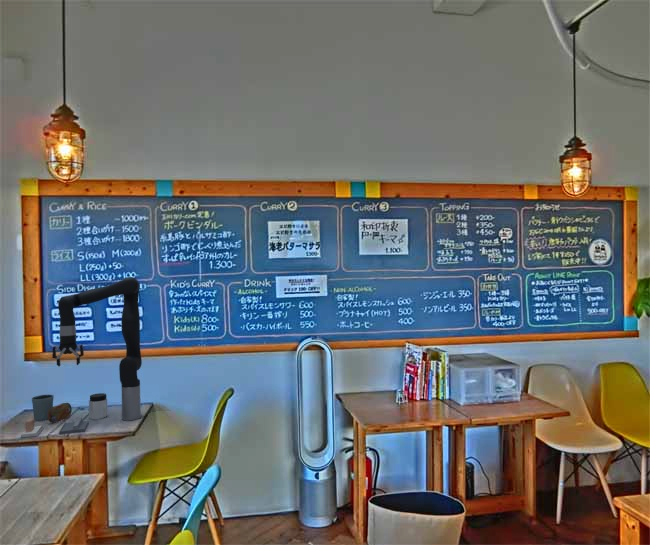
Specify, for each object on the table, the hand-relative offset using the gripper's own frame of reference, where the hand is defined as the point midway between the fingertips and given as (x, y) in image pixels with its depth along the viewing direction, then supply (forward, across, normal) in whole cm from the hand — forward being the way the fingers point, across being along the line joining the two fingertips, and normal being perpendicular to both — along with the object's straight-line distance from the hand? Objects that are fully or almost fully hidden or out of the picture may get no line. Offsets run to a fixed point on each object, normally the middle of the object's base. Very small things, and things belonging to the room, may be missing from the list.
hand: (68, 365), depth 252 cm
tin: (+30, +6, -9) cm, 32 cm away
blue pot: (+30, +15, -15) cm, 37 cm away
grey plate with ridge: (+30, -4, +11) cm, 32 cm away
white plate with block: (+30, +14, +11) cm, 35 cm away
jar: (+30, -13, -7) cm, 34 cm away
